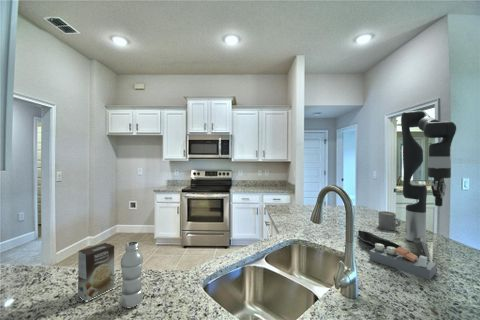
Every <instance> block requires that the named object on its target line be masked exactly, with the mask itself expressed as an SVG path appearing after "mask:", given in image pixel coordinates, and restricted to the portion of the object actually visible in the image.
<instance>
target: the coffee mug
mask: <svg viewBox="0 0 480 320" xmlns="http://www.w3.org/2000/svg"><path fill="white" fill-rule="evenodd" d="M400 225H401V219H400V218H398V217H397V214H396V212H391V211H384V210H381V211H378V227H379V228H381V229H384V230H389V231H390V230H392V231H393V230H396V229H397V227H400Z"/></svg>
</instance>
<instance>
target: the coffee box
mask: <svg viewBox="0 0 480 320" xmlns="http://www.w3.org/2000/svg"><path fill="white" fill-rule="evenodd" d="M77 258H78V262H77V263H78V264H77V265H78V269H77V297H78V296H79V297H81V298H82V299H84V300H90V299H92V298H94V297H96V296H98V295H100V294H102V293H104V292H106V291H108V290H110V289H112V288H114V289H115V245H114V244H111V243H107V242H103V243H99V244H96V245H93V246H89V247H87V248H84V249H79V250H78V257H77Z"/></svg>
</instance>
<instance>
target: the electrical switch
mask: <svg viewBox="0 0 480 320" xmlns="http://www.w3.org/2000/svg"><path fill="white" fill-rule="evenodd" d="M413 244H414V247H415V249H416V252H417V256H418V257H419V256H425V257H427V261H429V262H431V257H430V253H429V250H428V244H427V242H425V241H424V238H423V236H420V238H414V242H413Z"/></svg>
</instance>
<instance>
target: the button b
mask: <svg viewBox="0 0 480 320" xmlns="http://www.w3.org/2000/svg"><path fill="white" fill-rule="evenodd" d="M386 249H387V253H388V254H391V255H396V254H397V252H395V250H396V248H394V247H387V248H386Z"/></svg>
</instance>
